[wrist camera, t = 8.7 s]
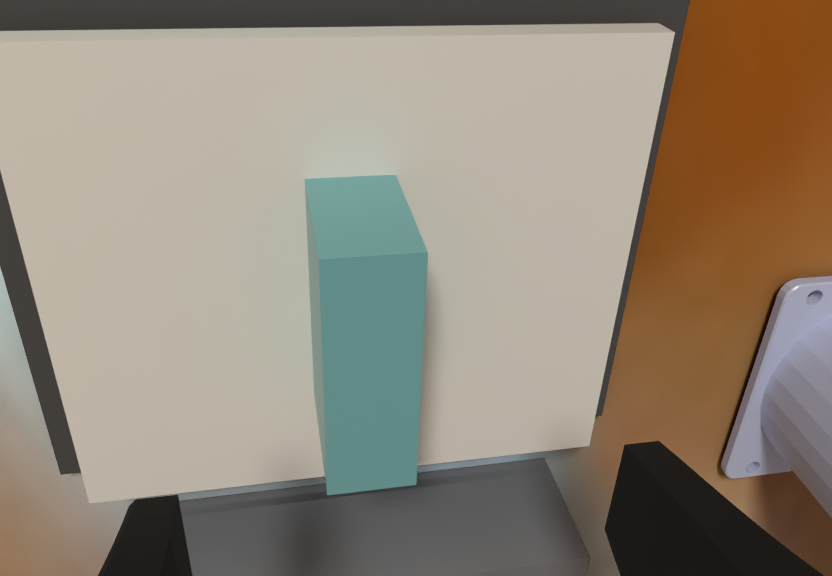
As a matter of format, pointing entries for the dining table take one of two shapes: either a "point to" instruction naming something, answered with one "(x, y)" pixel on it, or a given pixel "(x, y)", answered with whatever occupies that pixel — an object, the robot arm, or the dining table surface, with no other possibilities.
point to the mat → (284, 8)
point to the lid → (325, 241)
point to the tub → (393, 528)
